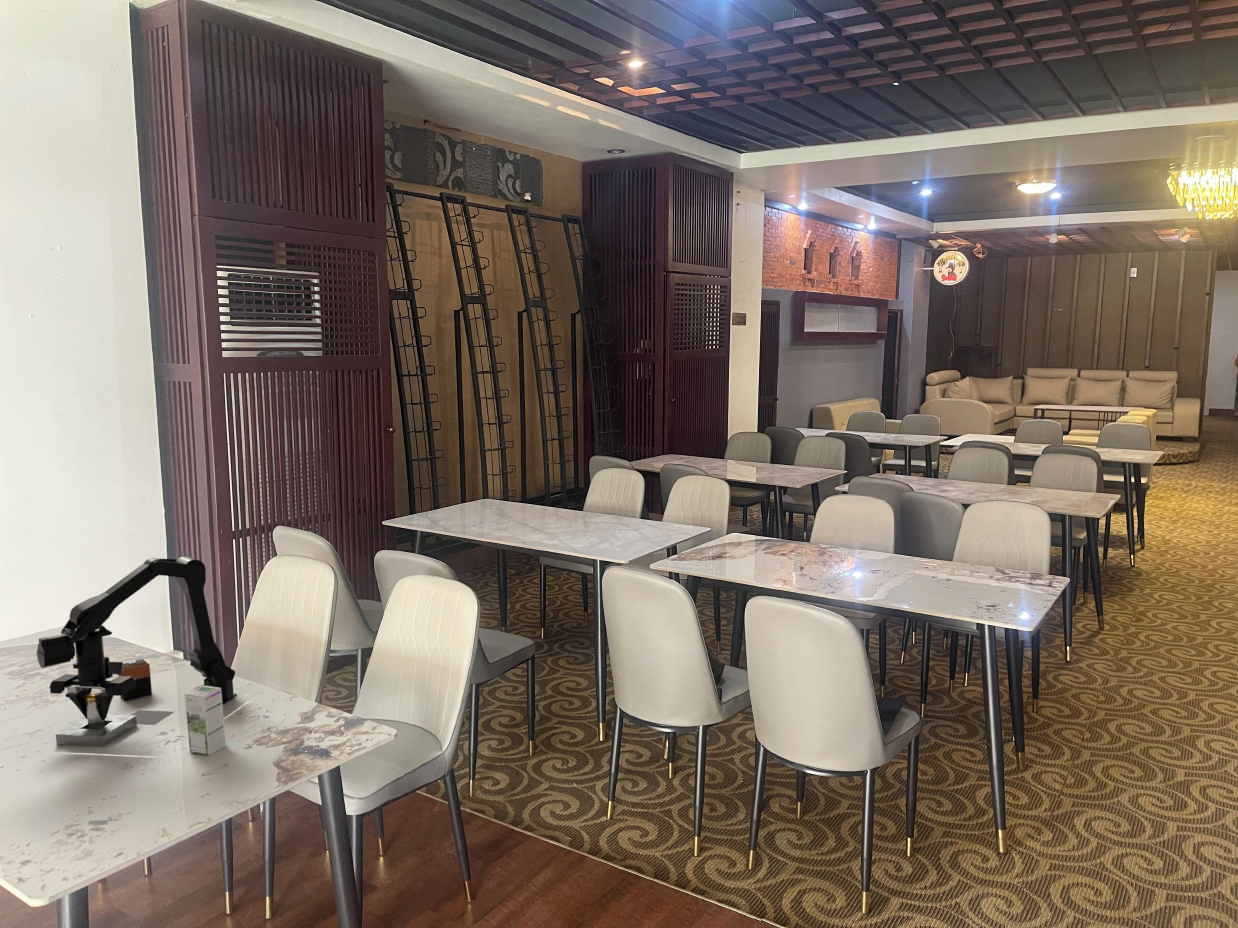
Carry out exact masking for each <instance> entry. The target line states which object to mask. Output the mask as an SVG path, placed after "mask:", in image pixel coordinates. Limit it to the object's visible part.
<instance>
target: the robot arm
mask: <svg viewBox="0 0 1238 928" xmlns="http://www.w3.org/2000/svg"><path fill="white" fill-rule="evenodd" d="M159 576H166V577H173V578H175V580H176V582H177V584H178V585H179V587H180V589H181V590H182V592H183V594H184V599H185V603H186V607H187V612H188V617H189V622H190V627H191V629H192V634H193V635H192V636H193V639H194V647H193V650H189V651H188V652H187V653H188V656H189V659H190V664H189V665H190V666H191V667H193V668H194V670H195V671H196V672H198V673H200V674H201V676H202V677H203V678H204V679H203V684H202V685H203V686H211V687H218V688H221V694H222V705H226V704H227V703H228V702H230V701H231V700H233V699H235V698H236V697H237V696H238V694H237V693H234V683H233V681H234V679H235V675H236V671H235V670H234V669H232V668H231V667H230V666H228V665H226V660H225V659H224V656H223V654H222V651H221V650H220V648H219V647H218V645H217V643H216V642H215V639H214V634H213V629H212V625H211V621H210V615H209V610H208V605H207V601H206V597H205V595H206V594H205V590H204V589H205V585H206V581H207V570H206V565H205V564H204V562H203V561H202V560H199V559H197V558H194V557H190V556H185V555H184V556H180V557H178V558H156V557H149V558H147V559H146V560H145V561H144V562H143V563H141V565H138V567H136V568H135V569H134V570H132V571H131V572H130V573H127V575H125V576H124V577H122V579H120V580H118V581H117V582H116V583H115V584H113V585H111V587H109V588H108V589H107V590H105V591H103V592H102V593H100V594H97V595H95V596H92V597H89V598H87V599H86V600H84V601H82V602H80V603H78V604H76V605H75V606H73V607H72V608H71V610H70V611H69V612H70V613H69V619H68V620H67V622H66V623H65V625H64V627H63V628H62V629H61V631H60V634H58V635H54V636H53V635H52V636H44V637H40V638H38V644H37V650H36V657H37V662H38V664H39V666H40V668H41V669H45V668H49V667H54V666H58V665H62V664H66V663H70V662H71V661H72V660H74V657H75V656H76V662H75V663H73V664H72V668H73V669H77V674H72V673H71V674H68V673H66V674H64V675H61V676H59V677H57V678H56V679H54V680H52V681H51V683H50V684H49V691H50V694H55V695H56V694H58V695H59V694H62V693H64V692H65V690H66V691H67V693H65V697H66V698H69V699H70V701H71V702H72V703H73V704H74V705H75V706H76V707H77V708H78V710H79V711H80V712H81V714H82V715H83V716H84V718H86V719H87V709H86V699H85V696H87V695H89V694H92V690H94V689H97V690H100V691H99V693H100V694H98V695H96V696H95V700H96V703H97V707H98V711H99V714H100V717H101V719H102V720H104V719H106V717H107V714H108V713H109V709H110V706H111V703H112V700H113V698H114V696H115V697H116V696H117V697H119V696H120V695H123V694H125V693H127V692H128V691H130V690H132V689H134V688H135V687H136V680H135V678H134V677H132V676H119V675H122V668H123V664H124V661H110V658H109V656H105V649H104V641H103V637H107V636H111V635H112V634H113V632H112V631H110V629H107V628H106V627H105V626H104V625H103V624H104V623H105V622H107V620H108V619H109V618H110V616H111V615H112V614H113V612H114V610H115V609H117V607H119V605H121V604H122V603H124V602H125V601H126V600H128V599H129V598H130V597H132V596H133V595H134V594H135V593H137V592H139V591H140V590H141V589H142V588H144V587H145V586H146V585H147V584H148V583H150V582H152V581H153V580H154V579H156V578H157V577H159ZM113 675H117V677H115V678H113V679H112V680H107V679H110V678H112V677H114V676H113ZM120 697H121V696H120Z"/></svg>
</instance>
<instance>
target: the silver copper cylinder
mask: <svg viewBox="0 0 1238 928" xmlns="http://www.w3.org/2000/svg"><path fill="white" fill-rule="evenodd" d="M100 693H101V692H91V693H90V694H89V695H87V696H85V699H86V709H87V719H88V729H101V728H102V727H104V726H106V723H105V719H104V720H102V719H101V717H100V714H99V711H98V707H97V703H96V700H95V696H96V695H98V694H100Z"/></svg>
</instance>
